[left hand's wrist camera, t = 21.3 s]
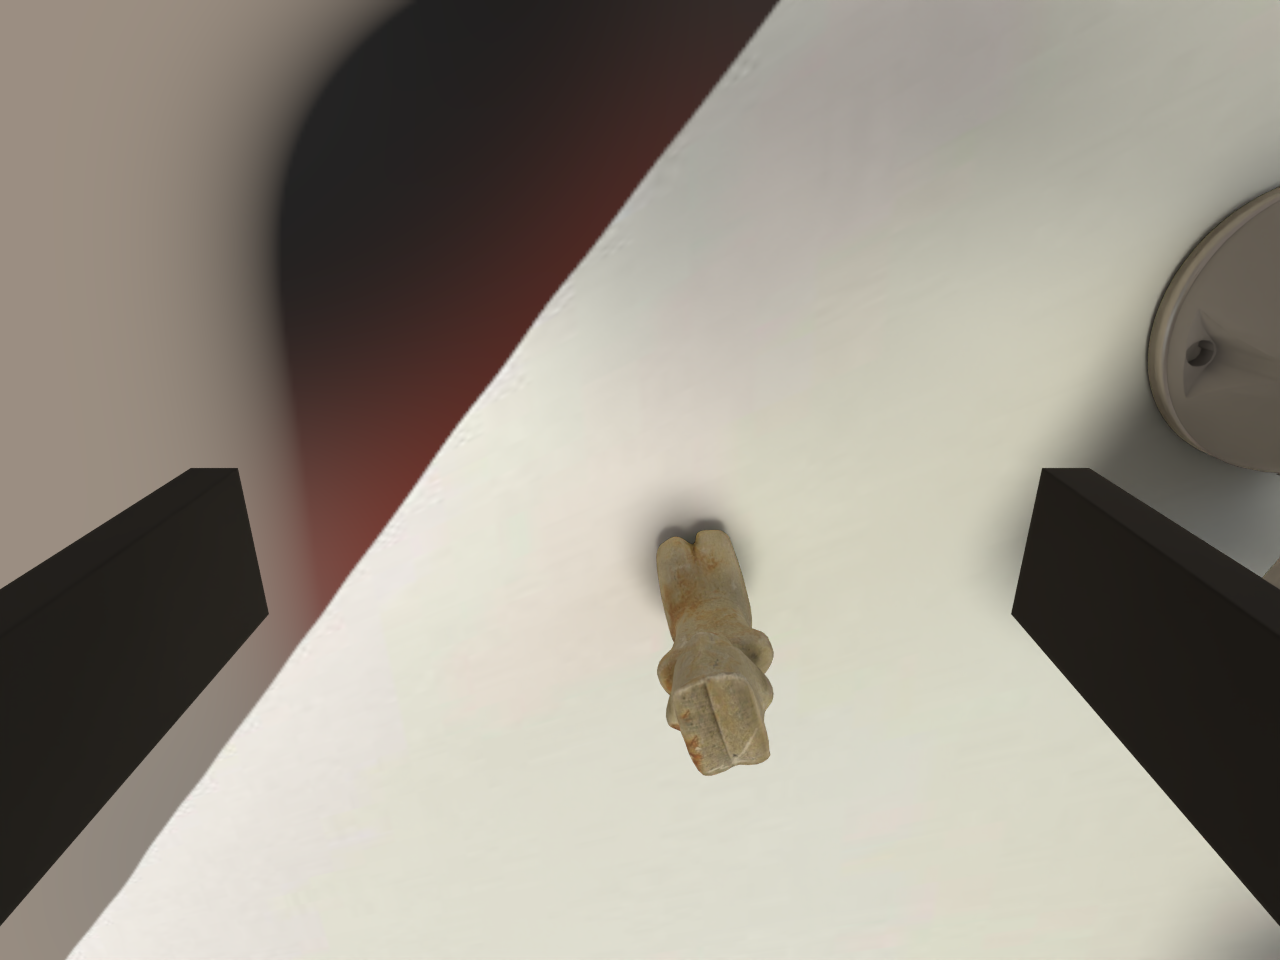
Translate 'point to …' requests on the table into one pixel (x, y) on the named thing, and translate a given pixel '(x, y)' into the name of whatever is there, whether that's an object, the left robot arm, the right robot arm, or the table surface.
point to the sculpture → (713, 654)
